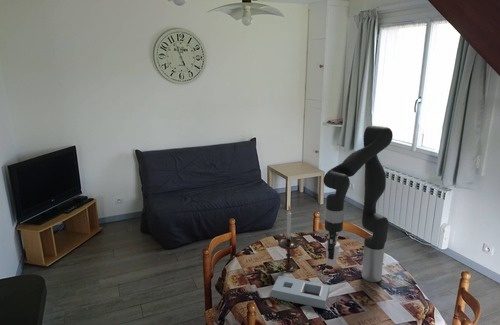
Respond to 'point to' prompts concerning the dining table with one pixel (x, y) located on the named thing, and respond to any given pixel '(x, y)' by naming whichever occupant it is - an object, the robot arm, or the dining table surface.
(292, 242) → the candlestick
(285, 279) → the socket block
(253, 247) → the dining table surface
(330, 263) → the smoothie
